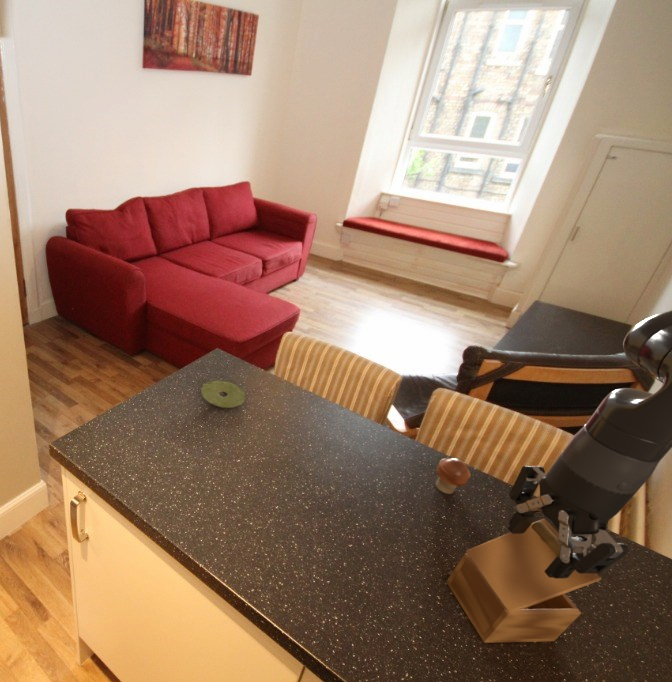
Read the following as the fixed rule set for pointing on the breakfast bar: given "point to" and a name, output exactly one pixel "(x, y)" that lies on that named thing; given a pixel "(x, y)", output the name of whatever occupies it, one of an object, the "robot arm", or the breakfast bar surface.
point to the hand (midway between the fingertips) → (533, 551)
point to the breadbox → (494, 617)
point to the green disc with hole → (223, 394)
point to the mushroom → (451, 475)
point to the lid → (525, 567)
